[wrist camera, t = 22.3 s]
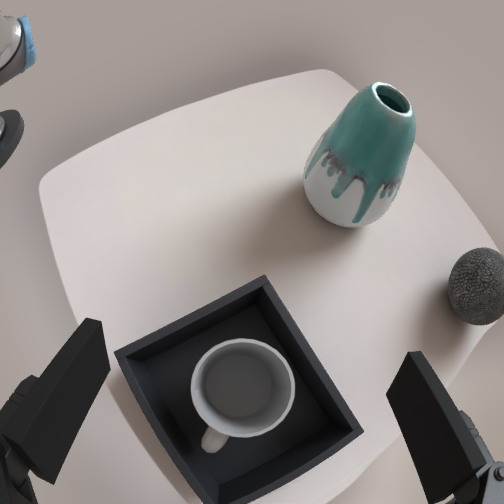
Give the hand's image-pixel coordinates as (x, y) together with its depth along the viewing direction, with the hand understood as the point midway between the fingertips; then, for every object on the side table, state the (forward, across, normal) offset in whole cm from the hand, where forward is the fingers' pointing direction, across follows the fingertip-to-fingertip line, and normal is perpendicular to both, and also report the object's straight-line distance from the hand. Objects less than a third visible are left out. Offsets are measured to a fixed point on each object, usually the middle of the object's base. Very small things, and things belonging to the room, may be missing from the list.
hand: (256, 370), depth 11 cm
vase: (+29, +11, +3) cm, 31 cm away
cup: (+11, 0, -14) cm, 18 cm away
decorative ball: (+21, +30, -6) cm, 37 cm away
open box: (+12, 0, -15) cm, 19 cm away
